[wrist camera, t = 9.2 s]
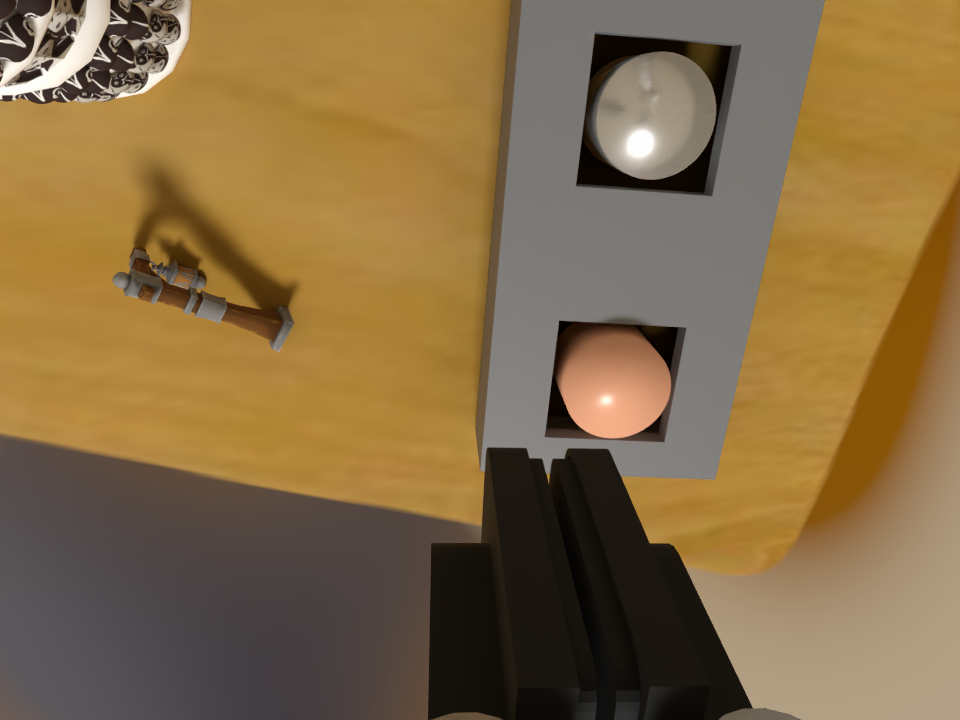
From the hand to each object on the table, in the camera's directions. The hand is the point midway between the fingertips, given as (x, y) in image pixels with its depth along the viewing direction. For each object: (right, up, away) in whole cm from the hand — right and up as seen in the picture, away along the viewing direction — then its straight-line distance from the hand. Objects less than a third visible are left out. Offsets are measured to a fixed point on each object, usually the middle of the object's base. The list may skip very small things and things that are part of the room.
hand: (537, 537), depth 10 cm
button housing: (+6, +9, +25) cm, 27 cm away
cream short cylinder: (+6, +14, +23) cm, 27 cm away
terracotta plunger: (+5, +3, +26) cm, 27 cm away
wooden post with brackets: (-14, +6, +26) cm, 30 cm away
